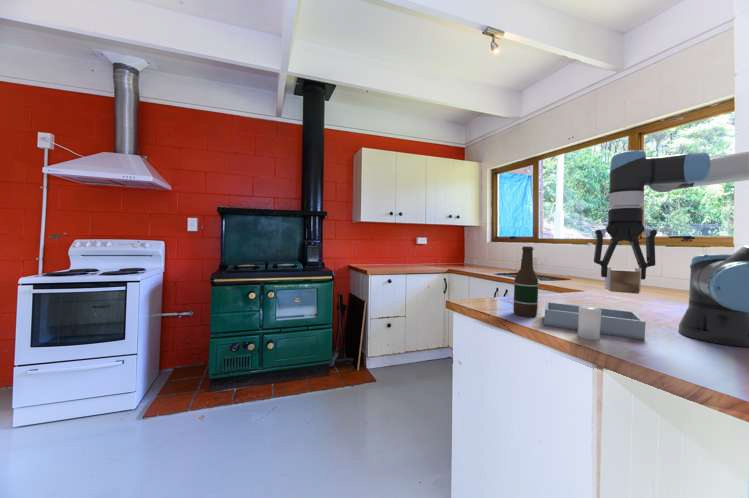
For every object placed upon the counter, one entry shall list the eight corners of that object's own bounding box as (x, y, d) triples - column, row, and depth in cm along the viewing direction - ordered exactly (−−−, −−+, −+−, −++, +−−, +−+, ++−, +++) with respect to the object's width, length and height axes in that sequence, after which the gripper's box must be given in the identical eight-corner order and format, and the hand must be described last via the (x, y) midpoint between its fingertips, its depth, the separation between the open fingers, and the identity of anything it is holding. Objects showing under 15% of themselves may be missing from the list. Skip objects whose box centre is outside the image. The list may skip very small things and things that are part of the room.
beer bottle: (540, 318, 102) (543, 247, 102) (516, 316, 104) (518, 246, 103) (533, 312, 110) (536, 246, 109) (510, 311, 112) (513, 246, 111)
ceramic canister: (598, 336, 84) (600, 307, 84) (600, 341, 80) (602, 311, 80) (577, 333, 87) (578, 305, 86) (578, 337, 82) (579, 308, 82)
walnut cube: (632, 290, 88) (633, 269, 87) (639, 293, 82) (640, 271, 82) (606, 288, 90) (607, 268, 90) (611, 291, 85) (612, 270, 85)
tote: (633, 327, 93) (634, 311, 93) (644, 340, 82) (645, 321, 81) (545, 316, 105) (546, 301, 105) (544, 325, 94) (544, 309, 94)
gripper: (664, 208, 85) (660, 291, 85) (582, 210, 93) (580, 285, 94) (676, 205, 78) (672, 295, 79) (586, 208, 87) (583, 288, 87)
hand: (621, 289), depth 86 cm, fingers closed on walnut cube, 6 cm apart
